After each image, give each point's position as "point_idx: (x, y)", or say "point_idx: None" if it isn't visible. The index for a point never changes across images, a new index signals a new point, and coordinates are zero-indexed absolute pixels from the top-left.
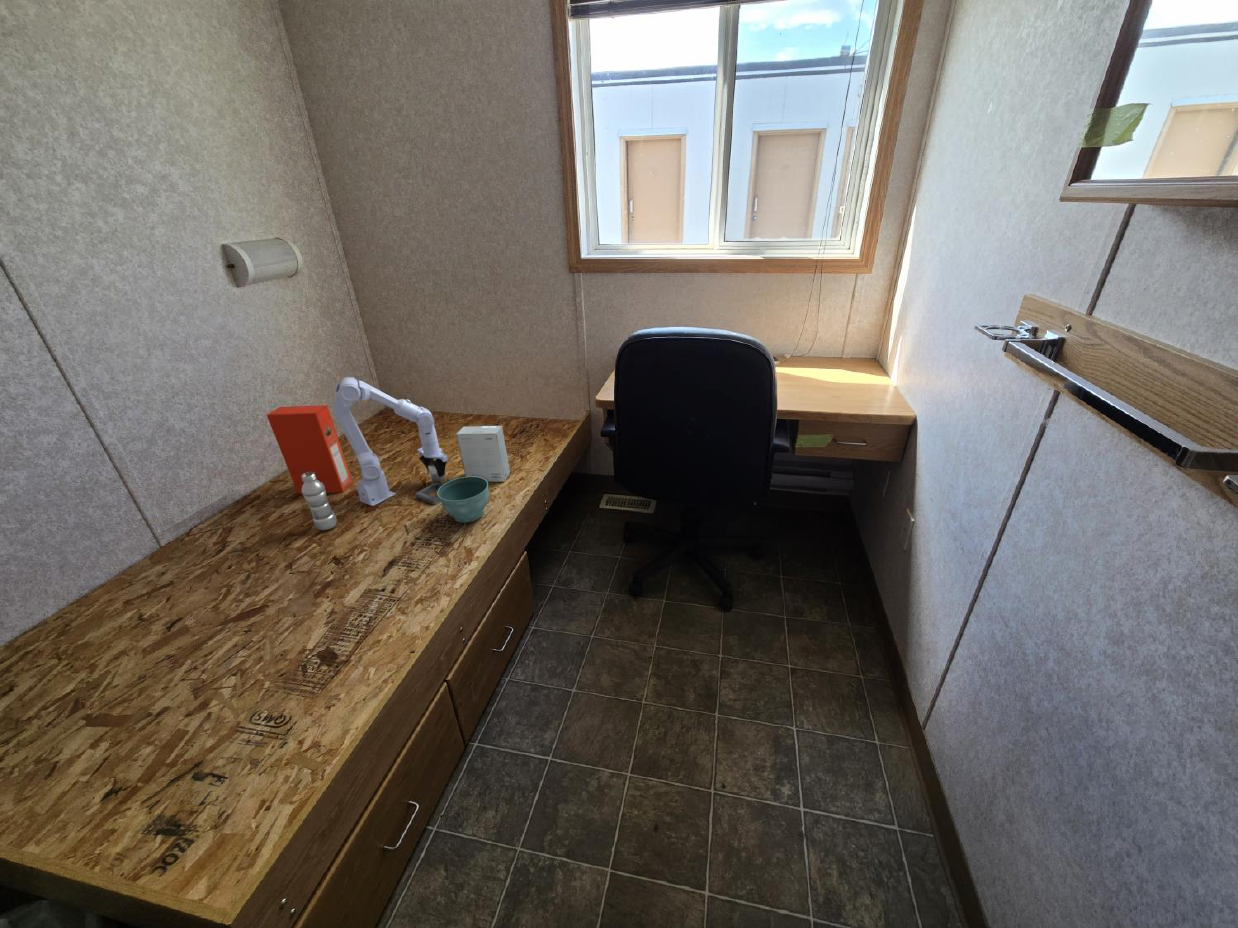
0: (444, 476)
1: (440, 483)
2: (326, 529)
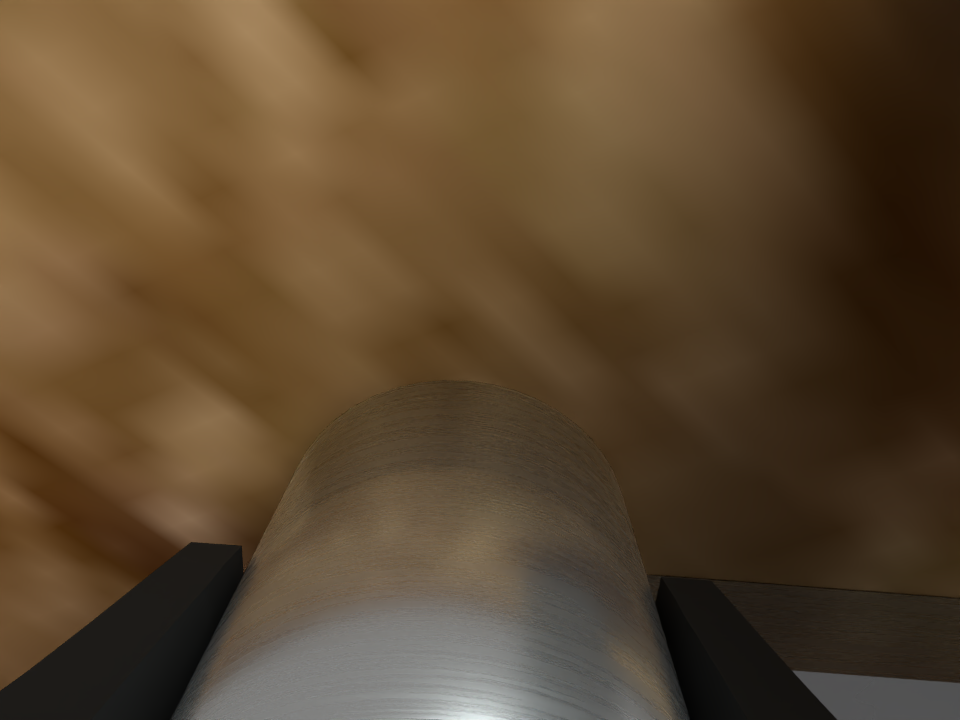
0: (601, 466)
1: None
2: None
